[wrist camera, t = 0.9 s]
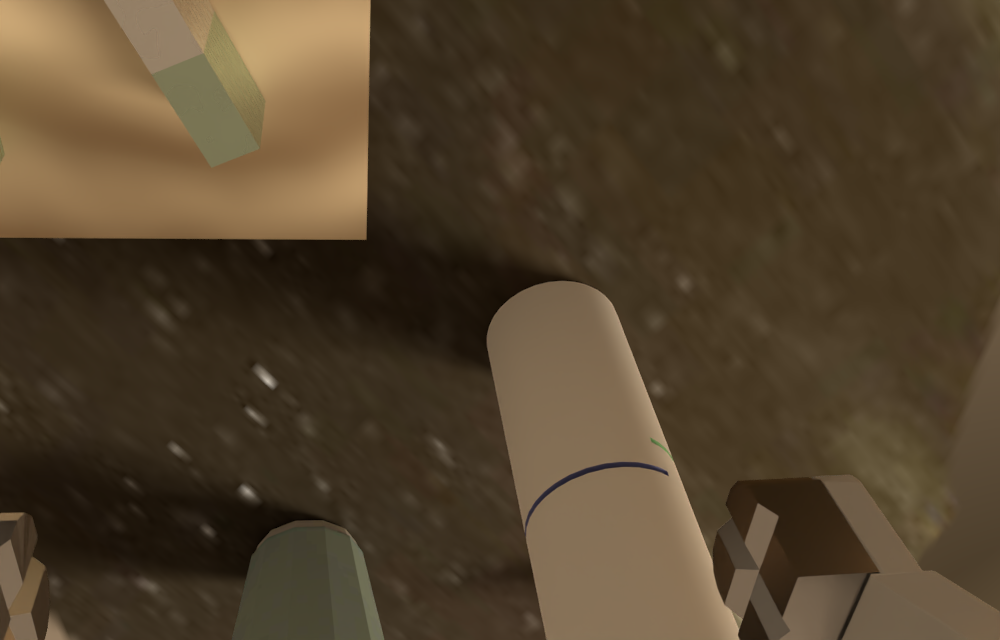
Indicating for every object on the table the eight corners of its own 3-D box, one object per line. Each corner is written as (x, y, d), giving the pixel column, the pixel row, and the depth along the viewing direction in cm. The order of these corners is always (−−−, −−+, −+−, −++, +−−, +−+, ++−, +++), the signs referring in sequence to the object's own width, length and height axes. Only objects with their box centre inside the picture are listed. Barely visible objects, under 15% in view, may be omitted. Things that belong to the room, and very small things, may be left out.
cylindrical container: (526, 263, 47) (665, 753, 27) (643, 304, 49) (844, 775, 30) (463, 364, 50) (548, 860, 31) (576, 397, 53) (717, 871, 34)
